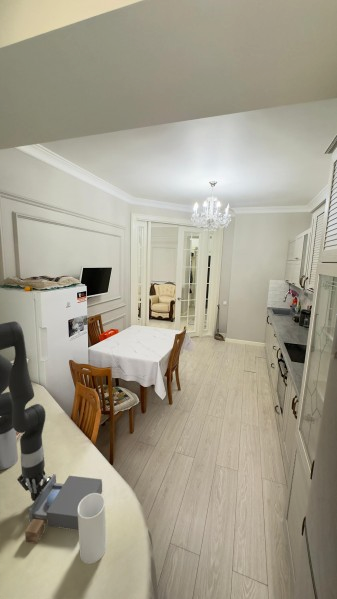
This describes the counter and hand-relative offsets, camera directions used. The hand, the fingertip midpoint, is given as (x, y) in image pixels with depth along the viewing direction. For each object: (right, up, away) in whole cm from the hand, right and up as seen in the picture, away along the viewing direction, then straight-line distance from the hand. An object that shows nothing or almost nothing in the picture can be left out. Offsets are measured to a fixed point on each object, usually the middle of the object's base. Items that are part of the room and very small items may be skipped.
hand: (35, 498), depth 93 cm
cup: (+27, -4, -15) cm, 31 cm away
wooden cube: (+6, -3, -11) cm, 13 cm away
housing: (+16, -2, -2) cm, 17 cm away
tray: (+10, -2, -1) cm, 10 cm away
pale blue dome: (+8, 0, -1) cm, 8 cm away
